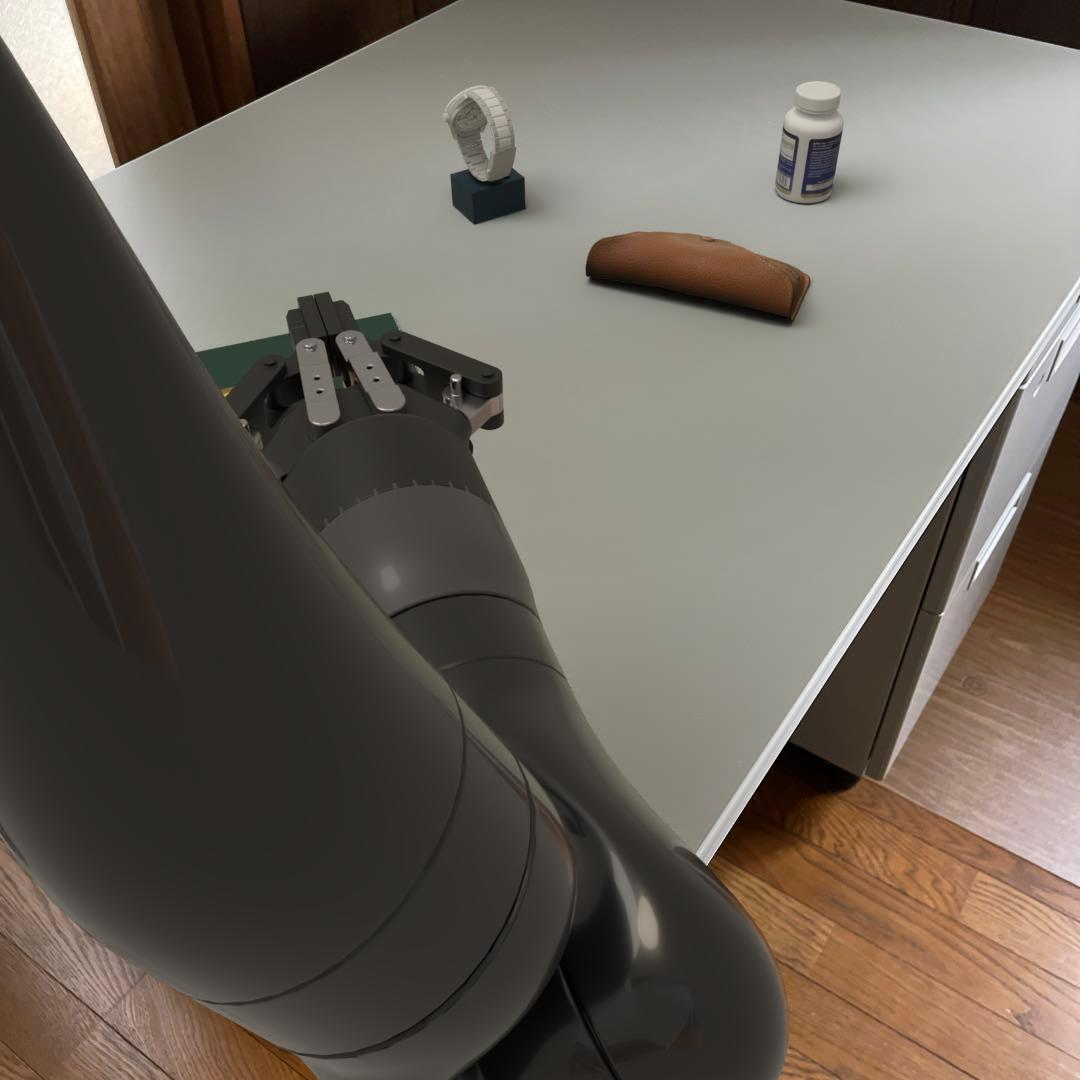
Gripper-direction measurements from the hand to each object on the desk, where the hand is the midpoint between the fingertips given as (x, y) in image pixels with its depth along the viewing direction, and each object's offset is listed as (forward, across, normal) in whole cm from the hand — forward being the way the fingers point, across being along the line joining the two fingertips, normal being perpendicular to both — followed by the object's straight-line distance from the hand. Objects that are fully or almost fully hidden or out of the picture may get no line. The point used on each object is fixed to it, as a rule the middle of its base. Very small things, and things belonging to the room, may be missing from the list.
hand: (314, 311), depth 50 cm
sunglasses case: (+30, -35, +24) cm, 52 cm away
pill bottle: (+41, -51, +23) cm, 70 cm away
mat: (+26, 0, +24) cm, 35 cm away
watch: (+49, -22, +24) cm, 59 cm away
